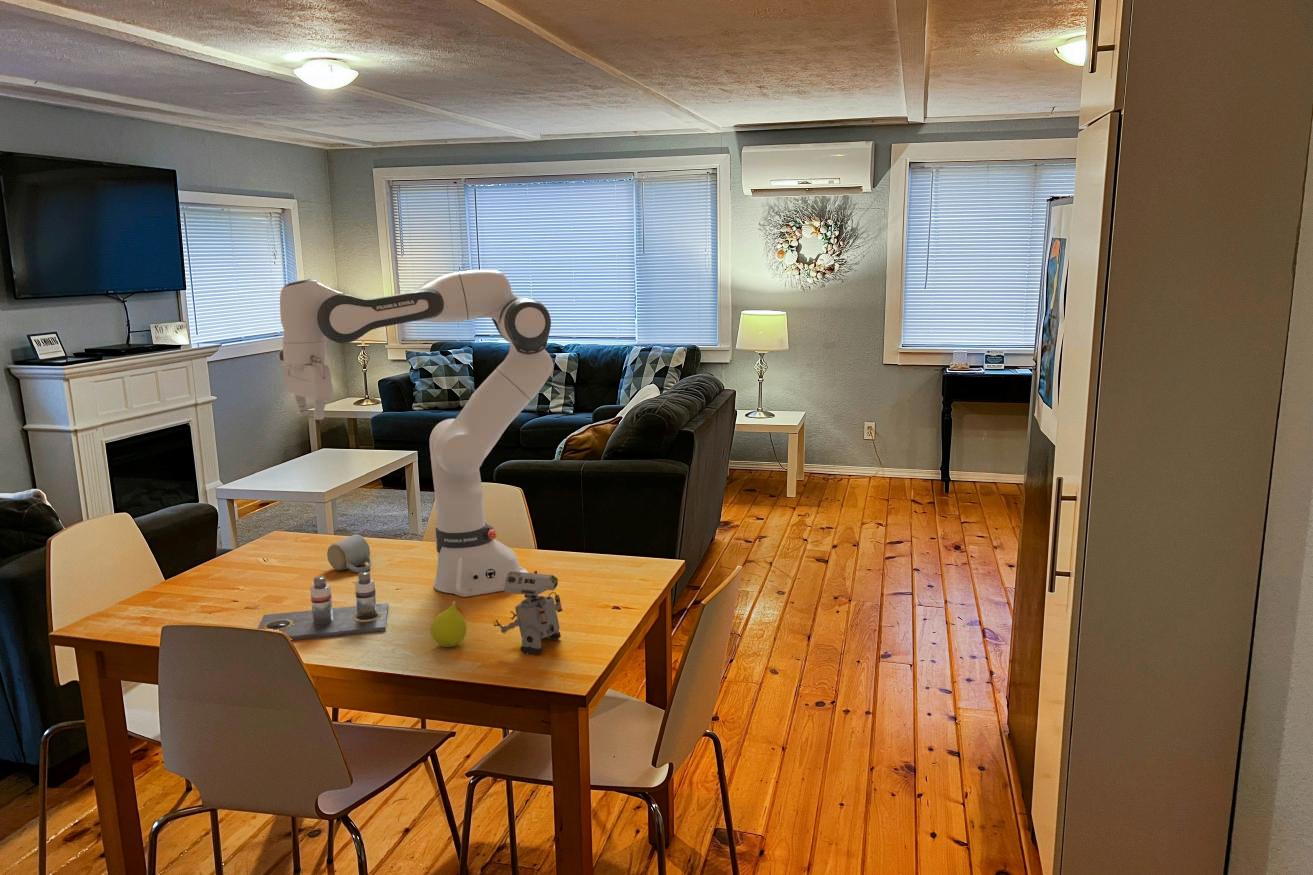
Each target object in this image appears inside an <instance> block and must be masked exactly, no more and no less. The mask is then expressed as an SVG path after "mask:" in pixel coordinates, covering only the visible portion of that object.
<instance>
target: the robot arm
mask: <svg viewBox="0 0 1313 875" xmlns="http://www.w3.org/2000/svg"><path fill="white" fill-rule="evenodd" d="M279 313H280V323H281V325H282V327H283V338H282V348H281V350H279V351H278V359H279V361H280V362H282V364H281V369H282V376H283V382H284V387H285V389H286V392H287V393H289V394H293V395H294V401H295V404H296V405H297V411H298V414H299V415H308V414H309V406H308V404H307V400H306V399H309V400H312V401H313V405H314V410H313V411H312V413H313V419H314V420H316V421H320V420H321V421H322V420H324V419H325V414H324V413H325V408H326V401H331V400H332V399H333V397H334V388H333V381H332V380H333V379H332V374H331V370H330V367H329V366H328V365H326V362H328V351H327V340H326V339H329V340H330V341H333V342H335V343H338V344H339V343H341V344H348V343H352V342H354V341H357V340H359V339H360V338H361V337H363V336H364V335H365V334H367V333H369V332H370V331H373V330H376V329H379V328H385V327H390V326H395V325H400V324H406V323H411V322H429V323H430V322H431V323H458V322H464V321H465V322H466V321H471V320H475V319H482V318H483V319H484V318H485V319H486V318H490V319H491V320H492V322H493V324H494V326H495V328H496V330H497V331H498V333H499V335H500V336H501V337H502V339H504V340H505V341H506V342H508V343H509V344H510V347H509V351H508V354H507V355H506V356H505V358H504V360H503V361H502V362H501V363H499V364H498V366H497V367H496V368H495V369H494V370H493V371H492V372H491V373H490V374H489V375H488V376H487V378H486V379H484V380H483V382H482V383H481V384H480V385H479V387H478V388H476V389H475V391H474V392H473V393H472V394H471V396H470V397H469V399H468V401H467V402H466V404H465V405H464V407H463V408H462V409H461V411H460V412H459V413H458V415H457V416H456V417H455V418H447V419H444V420H442V421H440V422H438V423H437V424H436V425H435V426H434V427H433V429H432V431H431V433H430V436H429V452H430V453H429V454H430V461H431V462H430V463H431V464H430V465H431V472H432V482H433V489H434V500H435V513H436V514H435V516H436V527H435V533H434V537H435V549H436V552H437V561H436V562H437V565H436V572H435V577H434V582H433V587H434V589H435V590H437V591H439V592H443V593H445V594H452V595H453V594H454V595H455V596H456V595H457V597H458V596H459V597H461V598H462V597H463V598H466V597H472V596H479V595H484V594H485V595H486V594H490V593H497V592H505V589H504V586H505V582H506V581H505V580H506V578H507V575H508V573H509V572H510V571H511V572H523V573H529V572H528V570H527V569H526V568H525V567H522V566H520V562H519V558H518V556H517V555H516V553H515V551H513V549H511V548H510V547H508V546H507V545H505V544H503V543H502V542H500V541H498V539H496V537H497V535H498V534H497V531H496V529H494V526H492V524H491V523H489V524H488V523H485V506H484V505H485V503H484V502H485V501H484V491H483V485H482V479H481V472H480V468H481V466H482V465H483V462H484V460H485V459H486V458H487V456H488V455H489V454H490V453H491V451H492V449H493V448H494V447H495V446H496V444H497V442H498V441H499V440H500V438H501V437H502V435H503V434H504V432H505V431H506V429H507V428H508V427H509V425H510V424H511V423H512V422H513V421H514V420H515V419H516V418H517V417H518V416H519V414H520V413H522V411H523V410H524V409H525V408H526V407H527V406H528V405H529V403H531V401H532V400H533V399H534V398H535V396H537V394H538V393H539V392H540V391H541V389H542V388H543V387H544V385H545V383H546V382H547V381H548V379H549V378H550V376H551V375H552V373H553V370H554V361H553V359H552V357H551V356H550V354H549V352H548V351H547V350H546V348H547V344H548V340H549V335H550V333H551V328H552V319H551V315H550V312H549V311H548V309H547V307H546V306H545V305H544V304H542V303H541V302H540V301H538V300H536V299H533V298H528V297H527V298H526V297H517V296H516V295H514V293H513V291H512V287H511V284H510V281H509V279H508V278H507V276H506V275H505V274H504V273H503V272H501V271H499V270H496V269H472V270H463V271H456V272H450V273H446V274H442V275H439V276H436V277H433V278H430V279H428V280H427V281H425V282H424V283H422V284H421V285H419V286H417V287H416V288H414V289H412V290H408V291H406V292H402V293H398V294H397V293H396V294H392V295H386V296H379V297H375V298H359V297H357V296H355V295H351V294H349V293H345V292H341V291H338V290H336V289H333V288H330V287H328V286H326V285H324V284H323V283H320V282H319V281H318V280H317V279H314V278H309V279H302V280H296V281H293V282H289V283H287V284H285V285H284V286H283V287H282V289H281V291H280V295H279Z"/></svg>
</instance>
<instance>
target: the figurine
mask: <svg viewBox="0 0 1313 875" xmlns="http://www.w3.org/2000/svg"><path fill="white" fill-rule="evenodd" d="M505 581H506V582H505V586H504V589H505V590H504V593H505V594H515V595H524V598H525V599H523V600H522V601H521V602H520V603H518V604H517V605H515V606H514V609H515V612H513V610H511V611H510V612H509V614H510V615H511V613H512V614H513V617H510V616H509V618H510V619H511V620H513V619H514V618H515V617H516V619H515V620H514V622H510V623H508V624H507V625H504V626H503V625H502V624H500V623H499V621H498V620H497V619H496V620H495V621H494V623H493V626H494V627H499V628H500V632H501V633H502V634H506V633H507V631H509V630H513V629H515V628H516V627H518V629H519V632H520V637H521V646H520V652H522V654H523V653H524V654H526V653H528V654H531V655H532V654H534V655H535V656H536V655H538V656H539V655H541V654H543V652H544V651H543V646H542V644H541V643H542V642H541V639H545V638H547V639H550V640H551V639H552V640H554V639H557V640H559V639H560V638H561V632H560V624H559V619H558V614H557V613H561V612H563V608H562V603H561V598H560V595H558V594H557V593H556V592H555V590H556V588H557V586H558V585H559V584H558V583H559V578H558V577H556V576H555V575H553V574H545V573H544V574H543V573H538V571H537V570H534V572H528V573H523V572H511V571H510V572H509V573H508V575H507V578H506V580H505ZM547 591H552V592H550V593H549V594H548V596H544V595H541V594H542V593H544V592H547ZM552 594H555V596H554V598H553V597H552V596H551V595H552ZM495 622H496V623H495ZM528 654H527V655H528Z"/></svg>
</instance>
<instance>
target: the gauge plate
mask: <svg viewBox="0 0 1313 875" xmlns="http://www.w3.org/2000/svg"><path fill="white" fill-rule="evenodd" d="M376 608H377V616H376V617H374V618H371V619H359V618H358V616H357V605H354V606H344V607H334V608H333V607H332V611H333V621H332V622H330V623H326V624H315V623H313V613H312V609H311V610H302V611H300V610H299V611H291V612H280V613H270V614H269V613H268V614H263V616H262V618H261V620H260V622H259V624H258V627H257V629H273V630H279V631H282V632H284V633H286V634H287V635H288V636H289V637H290V638H291V639H292V641H293V642H294V641H302V640H301V639H304V640H310V639H311V638H312V639H311V640H313V638H314V639H323V638H331V637H332V638H333V637H341V636H351V635H361V634H363V635H364V634H371V633H373V634H374V633H380V632H382V633H383V632H386V628H387V621H388V614H389V613H388V612H389V602H386V603H385V602H384V603H376ZM257 629H256V630H257ZM292 641H291V642H292Z"/></svg>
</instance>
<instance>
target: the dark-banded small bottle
mask: <svg viewBox="0 0 1313 875" xmlns="http://www.w3.org/2000/svg"><path fill="white" fill-rule="evenodd" d="M357 579H358V580H357V581H355V582H354V588H355V601H356V602H355V603H356V606H357V616H358V618H359V619H371V618H374V617H376V616H377V608H376V604H377V599H376V598H377V597H376V584H375V580H374V579H371V573H370V572H369V571H365V572H358V573H357Z"/></svg>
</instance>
